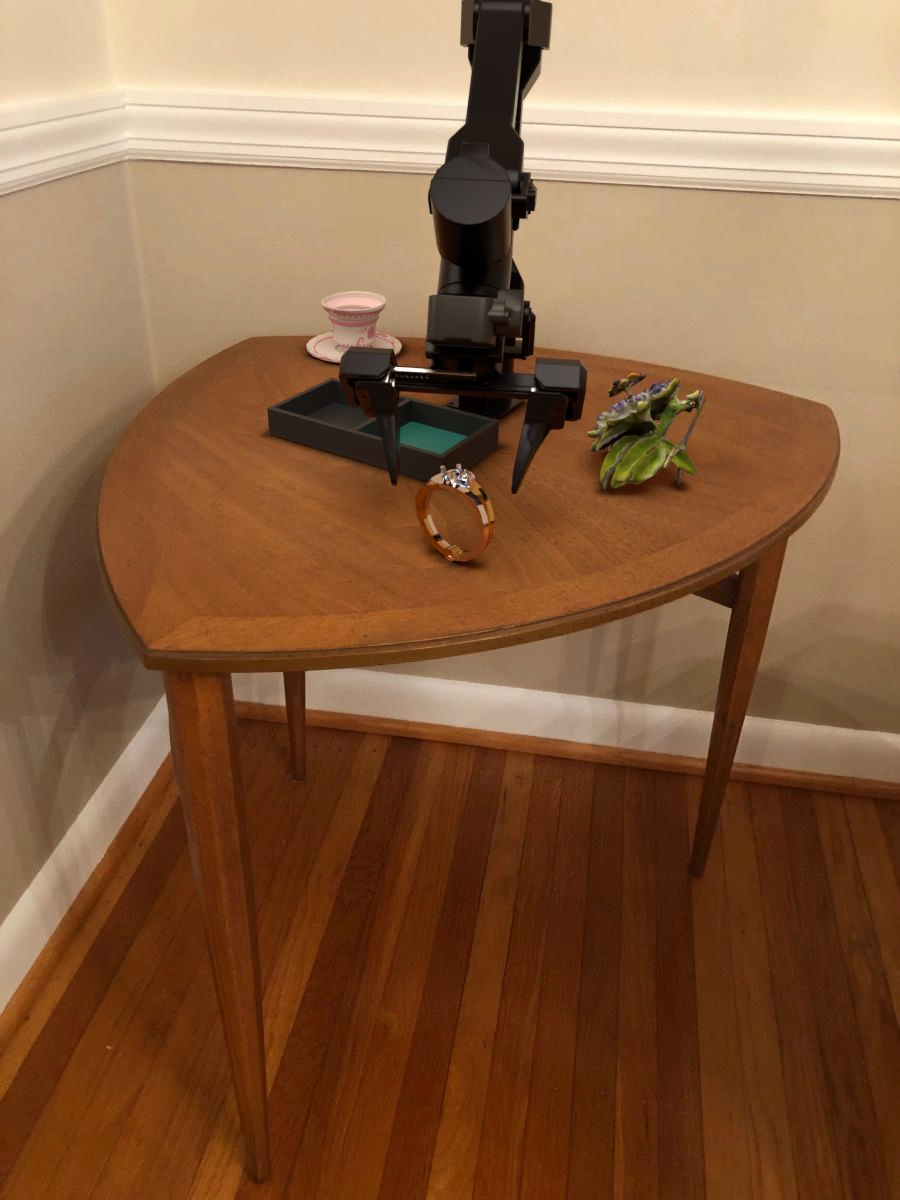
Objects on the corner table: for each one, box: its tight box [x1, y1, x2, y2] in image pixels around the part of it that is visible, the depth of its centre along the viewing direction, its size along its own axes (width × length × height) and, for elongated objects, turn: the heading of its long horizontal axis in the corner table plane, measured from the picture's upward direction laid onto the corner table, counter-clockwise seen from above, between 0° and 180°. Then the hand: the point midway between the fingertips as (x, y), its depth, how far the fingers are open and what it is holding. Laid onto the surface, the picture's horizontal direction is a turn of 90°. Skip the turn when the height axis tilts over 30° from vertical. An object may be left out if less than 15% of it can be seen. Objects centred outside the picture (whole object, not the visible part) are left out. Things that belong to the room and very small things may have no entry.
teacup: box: [305, 290, 403, 364], centre depth 117 cm, size 12×12×6 cm
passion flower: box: [587, 372, 707, 491], centre depth 88 cm, size 11×11×12 cm
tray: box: [266, 377, 500, 483], centre depth 95 cm, size 11×21×3 cm, turn 59°
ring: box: [414, 464, 495, 562], centre depth 74 cm, size 7×3×8 cm, turn 47°
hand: (453, 488), depth 71 cm, fingers open, 9 cm apart
